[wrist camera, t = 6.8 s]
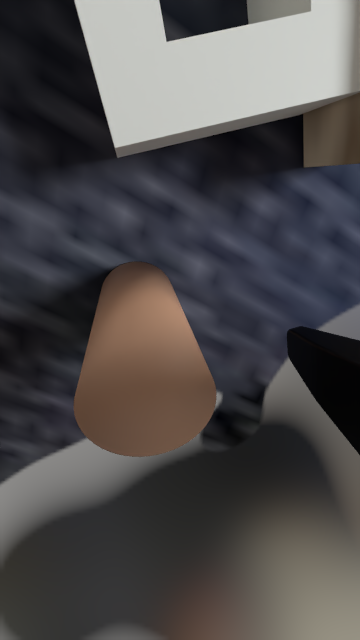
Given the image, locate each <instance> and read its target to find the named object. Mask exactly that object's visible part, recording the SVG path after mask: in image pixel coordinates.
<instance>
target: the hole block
mask: <svg viewBox="0 0 360 640" xmlns="http://www.w3.org/2000/svg"><path fill="white" fill-rule="evenodd" d="M74 2H75V6H76V10H77V13H78V17H79V20H80V24H81V28H82V31H83V35H84V39H85V42H86V46H87V50H88V53H89V57H90V60H91V64H92V68H93V71H94V75H95V79H96V82H97V86H98V90H99V93H100V97H101V100H102V104H103V108H104V111H105V115H106V119H107V122H108V126H109V129H110V133H111V137H112V140H113V144H114V148H115V151H116V155H117V158H119V157H123V156H128V155H132V154H136V153H140V152H145V151H149V150H153V149H157V148H162V147H166V146H170V145H174V144H178V143H183V142H187V141H191V140H195V139H200V138H204V137H208V136H212V135H217V134H221V133H225V132H229V131H234V130H238V129H242V128H246V127H250V126H255V125H259V124H263V123H267V122H272V121H276V120H280V119H284V118H289V117H293V116H297V115H301V114H304V113H306V112H309V111H312V110H314V109H317V108H320V107H322V106H325V105H328V104H330V103H333V102H336V101H338V100H341V99H344V98H346V97H349V96H352V95H354V94H357V93H360V0H247V12H248V25H244V26H240V27H235V28H230V29H225V30H221V31H216V32H211V33H207V34H202V35H197V36H192V37H188V38H183V39H178V40H174V41H169V42H166V36H165V31H164V25H163V19H162V14H161V8H160V2H159V0H74Z"/></svg>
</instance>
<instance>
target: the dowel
mask: <svg viewBox="0 0 360 640" xmlns="http://www.w3.org/2000/svg"><path fill="white" fill-rule="evenodd" d="M215 404H216V387H215V383H214V380H213V377H212V375H211V373H210V371H209V368H208V366H207V364H206V362H205V359H204V357H203V355H202V353H201V350H200V348H199V346H198V344H197V341H196V339H195V337H194V335H193V332H192V330H191V328H190V326H189V323H188V321H187V319H186V317H185V314H184V312H183V310H182V308H181V305H180V303H179V301H178V299H177V296H176V294H175V292H174V290H173V287H172V285H171V283H170V281H169V279H168V277H167V276H166V275H165V274H164V272H163V271H161V270H160V269H159V268H157V267H156V266H154V265H152V264H149V263H146V262H137V261H136V262H128V263H125V264H122V265H120V266H118V267H116V268H115V269H113V270H112V271H111V272H110V273H109V274H108V276H107V277H106V279H105V280H104V282H103V285H102V289H101V293H100V297H99V301H98V305H97V309H96V313H95V317H94V321H93V325H92V329H91V333H90V337H89V341H88V345H87V349H86V353H85V357H84V361H83V365H82V369H81V373H80V378H79V382H78V386H77V390H76V394H75V398H74V414H75V418H76V421H77V423H78V425H79V427H80V429H81V430H82V432H83V433H84V435H85V436H86V437H87V438H88V439H89V440H91V441H92V442H93V443H94V444H96V445H97V446H99V447H101V448H102V449H105V450H107V451H109V452H112V453H115V454H119V455H124V456H132V457H143V456H152V455H158V454H162V453H166V452H168V451H171V450H174V449H176V448H178V447H180V446H182V445H184V444H185V443H187V442H189V441H190V440H191V439H193V438H194V437H195V436H196V435H197V434H199V433H200V432H201V431H202V429H203V428H204V427H205V426H206V424H207V423H208V421H209V420H210V418H211V416H212V414H213V411H214V408H215Z"/></svg>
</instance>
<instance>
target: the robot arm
mask: <svg viewBox="0 0 360 640" xmlns="http://www.w3.org/2000/svg"><path fill="white" fill-rule="evenodd" d="M287 348H288V356H289V358H290V360H291V362H292V364H293V365H294V367H295V368H296V370H297V371H298V373H299V375H300V376H301V378H302V379H303V381H304V382H305V384H306V386H307V387H308V389H309V390H310V392H311V394H312V395H313V396H314V398H315V399H316V401H317V402H318V403H319V405H320V406H321V407H322V409H323V410H324V411H325V412H326V414H327V415H328V416H329V417H330V419H331V420H332V421H333V422H334V424H335V425H336V426H337V427H338V429H339V430H340V431H341V432H342V433H343V435H344V436H345V437H346V438H347V440H348V441H349V442H350V444H351V445H352V446H353V447H354V449H355V450H356V451H357V452H358V454H359V455H360V341H359V340H355V339H350V338H347V337H343V336H339V335H334V334H331V333H327V332H323V331H319V330H315V329H311V328H307V327H303V326H299V327H296V328H292V329H289V330H288V332H287Z"/></svg>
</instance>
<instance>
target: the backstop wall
mask: <svg viewBox="0 0 360 640" xmlns="http://www.w3.org/2000/svg"><path fill="white" fill-rule="evenodd" d="M303 143H304V167H317V166H331V165H344V164H357V163H360V93H357V94H354V95H352V96H349V97H346V98H344V99H341V100H338V101H336V102H333V103H330V104H328V105H325V106H322V107H320V108H317V109H314V110H312V111H309V112H306V113H304V114H303Z"/></svg>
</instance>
